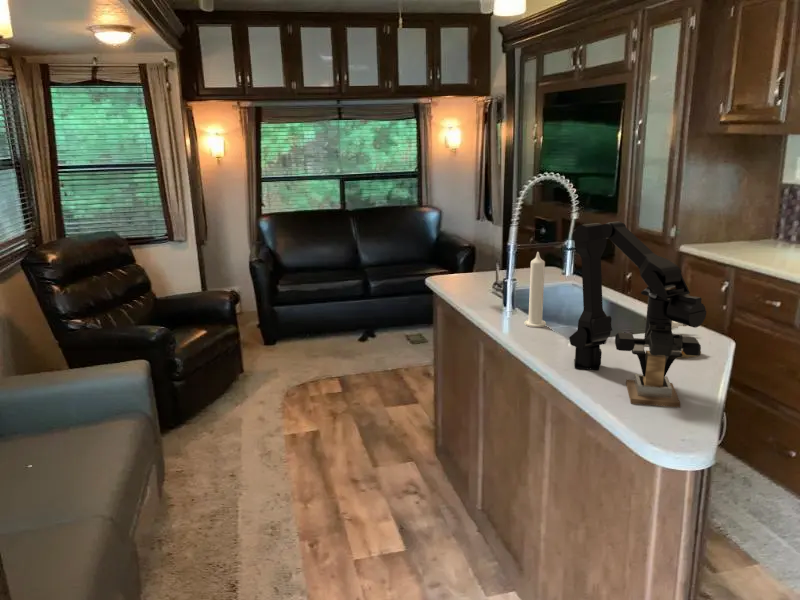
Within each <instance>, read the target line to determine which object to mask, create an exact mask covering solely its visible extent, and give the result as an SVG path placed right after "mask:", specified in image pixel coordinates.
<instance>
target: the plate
mask: <svg viewBox="0 0 800 600" xmlns="http://www.w3.org/2000/svg"><path fill="white" fill-rule="evenodd" d="M634 381H635V379H626V382H625V385H626V389H627V394H628V398H629V402H630V404H632V405H633V404H634V405H635V404H636V405H646V406H647V405H648V406H657V407H658V406H659V407H668V408H669V407H671V408H681V401H680V400H681V399H680V398H679V396H678V394H677V392H676V389H675V386H674V384H673V382H670V384H671V387H672V396H671V398H661V397H649V396H638V395H637V391H636V388H635V384H634Z"/></svg>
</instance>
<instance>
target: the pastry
mask: <svg viewBox="0 0 800 600" xmlns="http://www.w3.org/2000/svg"><path fill="white" fill-rule="evenodd" d="M681 353H682V355H683V356H682V357H678V358H677V359H690V358H694V357H698V356H700V355H701V354H702V351H701V352H700V355H698V356H696V355H686V354H685V353H684V352H683V350H682V352H681ZM689 357H690V358H689Z"/></svg>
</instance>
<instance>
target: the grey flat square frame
mask: <svg viewBox="0 0 800 600" xmlns="http://www.w3.org/2000/svg"><path fill="white" fill-rule="evenodd" d="M634 380H635V381H634V384H635V388H636V391H637V395H638V396H649V397H661V398H671V396H672V387H671V384H670V383H671V382H670V379H669V378H668V376H666V375H665V377H664V379H663V387H660V386H647V385H644V382H643V374H637V373H636V374H634Z"/></svg>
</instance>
